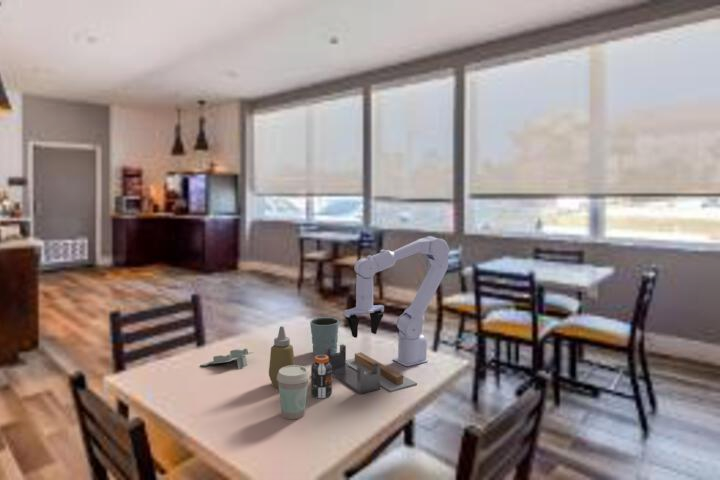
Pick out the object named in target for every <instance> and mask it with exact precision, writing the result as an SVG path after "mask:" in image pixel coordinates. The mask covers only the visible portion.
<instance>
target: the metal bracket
mask: <svg viewBox="0 0 720 480" xmlns="http://www.w3.org/2000/svg"><path fill="white" fill-rule="evenodd" d="M250 354H254V351H252V352H251V351H250V352H249V350H248V348H246V347H245V348H244V349H232V350H230V351H229V354H226V355H215V356H213V359H212V360H211V361H210V360H209V361H207V362H205V363H202V364H200V367H204V366H205V367H206V366H209V365H212V364H213V365H214V364H221V363H222V364H223V363H229V362H232V361H234V360H235V361H236V363H237V368H238V369H239V370H240V369H243V368H245V367H247V366H248V363H247V362H248V361H247V358H246V356H248V355H250Z"/></svg>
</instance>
